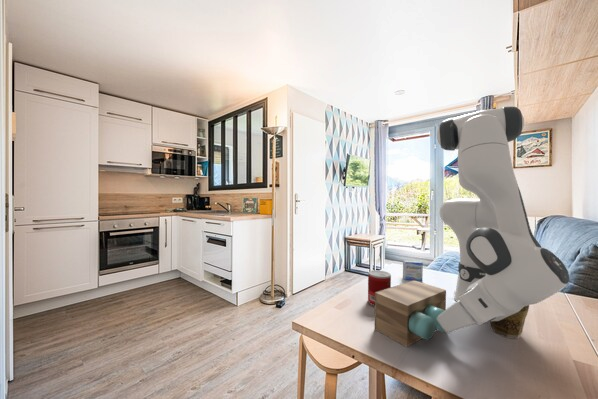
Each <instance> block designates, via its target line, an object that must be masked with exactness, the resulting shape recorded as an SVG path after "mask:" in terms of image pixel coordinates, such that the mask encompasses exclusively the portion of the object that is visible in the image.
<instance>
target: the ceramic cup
mask: <svg viewBox="0 0 598 399" xmlns="http://www.w3.org/2000/svg"><path fill="white" fill-rule="evenodd" d="M529 307H530V305H527V306H524V307H523V308H522V309H521V310H520V311H519V312H517V313H515V314H512V315H510V316H508V317H506V318H504V319H502V320H500V321H489V326H490V329H491V330H492V331H493V332H494V333H495V334H496V335H500V336H501V337H505V338H507V339H516V340H517V339H519V338H520V337H521V336H522V333H523V329H524V325H525V321H526V318H527V315H528V312H529V309H530V308H529Z"/></svg>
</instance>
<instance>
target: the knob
mask: <svg viewBox="0 0 598 399" xmlns="http://www.w3.org/2000/svg"><path fill="white" fill-rule="evenodd" d="M444 311H445V310H443V309H440V308H437V307H435V306H432V305H429V306H427V307H426V308H425V309H424V314H425V315H427V316H430V317H432V318H433V319H434V320H435V329H436V331H439V332H441V333H442V332H445V331H444V330H443V328H442V327H441V326H440V324H439V323H438V321H437V317H438V316H439V315H440V314H441V313H442V312H444Z"/></svg>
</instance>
